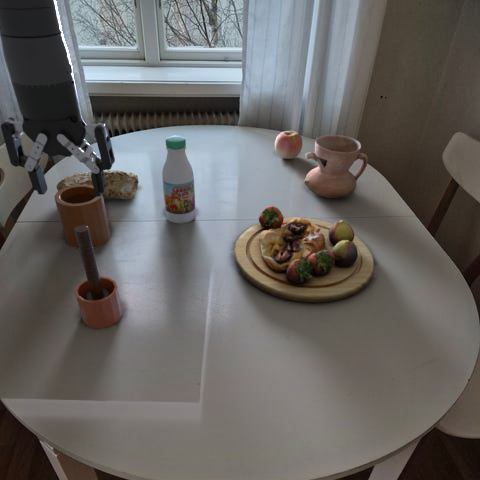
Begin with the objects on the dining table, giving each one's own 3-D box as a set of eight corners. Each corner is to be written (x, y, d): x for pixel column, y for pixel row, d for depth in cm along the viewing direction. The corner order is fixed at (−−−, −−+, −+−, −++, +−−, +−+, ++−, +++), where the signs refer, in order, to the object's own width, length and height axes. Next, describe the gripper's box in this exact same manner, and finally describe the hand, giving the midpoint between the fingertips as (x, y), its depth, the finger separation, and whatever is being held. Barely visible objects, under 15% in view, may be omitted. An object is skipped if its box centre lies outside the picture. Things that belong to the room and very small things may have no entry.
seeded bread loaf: (139, 190, 124) (68, 174, 121) (140, 168, 118) (65, 150, 115) (129, 221, 116) (53, 204, 113) (130, 198, 110) (49, 179, 107)
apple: (304, 161, 140) (307, 136, 135) (278, 163, 139) (280, 138, 133) (294, 151, 147) (297, 126, 141) (270, 152, 145) (272, 128, 139)
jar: (60, 248, 100) (48, 205, 92) (73, 225, 107) (62, 183, 100) (105, 249, 100) (95, 206, 92) (114, 226, 107) (106, 185, 100)
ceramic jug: (304, 203, 119) (312, 153, 110) (296, 180, 130) (302, 132, 120) (367, 203, 121) (380, 153, 111) (354, 180, 131) (365, 133, 121)
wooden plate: (216, 234, 106) (216, 204, 101) (330, 216, 115) (336, 187, 109) (263, 319, 84) (266, 286, 79) (400, 289, 93) (412, 257, 87)
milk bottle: (159, 216, 112) (151, 138, 98) (182, 206, 116) (177, 130, 102) (178, 227, 108) (172, 148, 94) (201, 217, 112) (199, 139, 98)
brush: (89, 321, 81) (65, 234, 68) (94, 307, 84) (72, 221, 71) (110, 322, 81) (90, 235, 68) (115, 308, 84) (96, 222, 71)
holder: (78, 330, 80) (69, 301, 76) (89, 303, 86) (81, 275, 81) (118, 331, 81) (112, 302, 76) (126, 304, 86) (120, 276, 81)
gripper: (-29, 80, 52) (15, 203, 63) (90, 84, 52) (113, 207, 63) (-3, 64, 57) (33, 180, 68) (105, 69, 57) (123, 183, 68)
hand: (71, 193), depth 65 cm, fingers open, 8 cm apart
